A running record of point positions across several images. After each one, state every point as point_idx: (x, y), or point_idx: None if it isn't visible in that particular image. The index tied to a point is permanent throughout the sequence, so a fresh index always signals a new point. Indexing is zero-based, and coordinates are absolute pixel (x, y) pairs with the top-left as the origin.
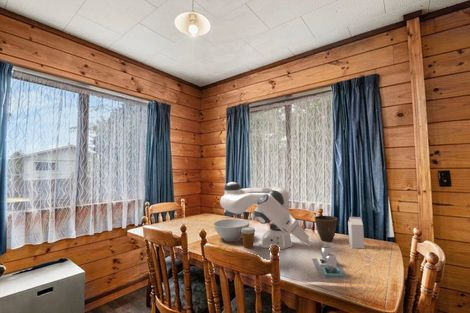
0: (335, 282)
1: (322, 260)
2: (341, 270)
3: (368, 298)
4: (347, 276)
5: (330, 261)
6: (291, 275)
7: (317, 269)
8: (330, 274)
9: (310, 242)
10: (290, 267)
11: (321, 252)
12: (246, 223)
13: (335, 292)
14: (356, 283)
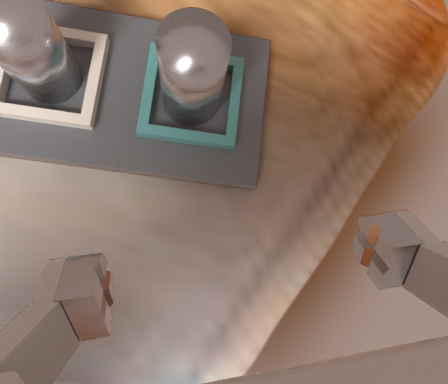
0: None
1: (48, 93)
2: None
3: (391, 45)
4: (237, 38)
5: (225, 74)
6: (174, 343)
7: (142, 165)
8: (237, 119)
9: (417, 221)
10: None
11: (9, 65)
12: None
13: (354, 156)
14: (270, 27)
